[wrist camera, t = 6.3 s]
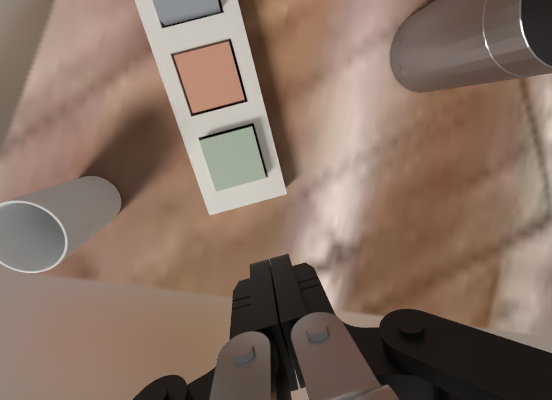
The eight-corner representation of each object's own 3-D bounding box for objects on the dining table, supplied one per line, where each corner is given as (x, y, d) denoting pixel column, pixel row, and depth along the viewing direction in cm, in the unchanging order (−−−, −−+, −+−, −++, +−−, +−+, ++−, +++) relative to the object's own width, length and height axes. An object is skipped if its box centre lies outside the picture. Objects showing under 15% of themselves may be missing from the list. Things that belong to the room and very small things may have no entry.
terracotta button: (229, 45, 32) (228, 41, 30) (244, 100, 34) (244, 99, 32) (178, 59, 32) (173, 55, 30) (195, 113, 34) (192, 113, 32)
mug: (106, 165, 35) (37, 187, 23) (134, 212, 37) (83, 255, 25) (31, 196, 35) (-75, 233, 23) (62, 242, 37) (-21, 297, 25)
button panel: (214, -84, 29) (211, -103, 27) (284, 189, 38) (286, 194, 35) (119, -61, 29) (107, -77, 26) (211, 209, 38) (209, 215, 35)
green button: (251, 126, 33) (252, 126, 31) (265, 174, 35) (266, 177, 33) (202, 139, 33) (199, 140, 31) (217, 187, 35) (216, 191, 33)
